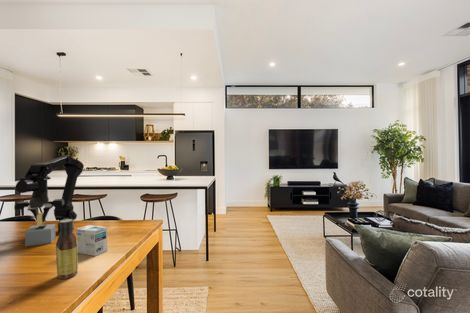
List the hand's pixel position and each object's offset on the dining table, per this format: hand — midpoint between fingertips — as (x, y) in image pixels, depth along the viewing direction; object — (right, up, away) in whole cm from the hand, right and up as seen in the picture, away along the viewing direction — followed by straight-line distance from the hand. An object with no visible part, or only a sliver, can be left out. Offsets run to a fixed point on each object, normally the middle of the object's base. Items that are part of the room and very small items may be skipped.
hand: (40, 221), depth 126 cm
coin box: (0, -10, 0) cm, 10 cm away
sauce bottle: (+35, -11, -34) cm, 50 cm away
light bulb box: (+32, -10, -12) cm, 36 cm away
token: (0, -1, 0) cm, 1 cm away
